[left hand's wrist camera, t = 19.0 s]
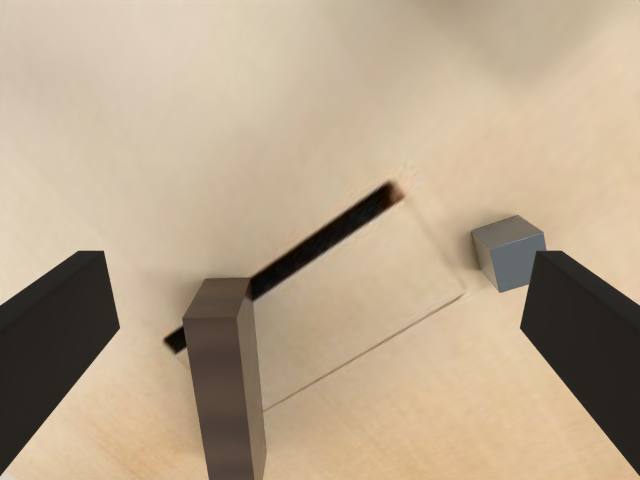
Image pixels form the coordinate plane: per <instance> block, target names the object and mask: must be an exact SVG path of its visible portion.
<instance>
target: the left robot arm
mask: <svg viewBox="0 0 640 480" xmlns="http://www.w3.org/2000/svg"><path fill="white" fill-rule="evenodd" d="M119 329H120V325H119V321H118V316H117V311H116V307H115V302H114V297H113V292H112V288H111V283H110V278H109V273H108V269H107V264H106V259H105V254H104V251H77V252H76V253H75V254H73V255H72V256H70V257H69V258H67V259H66V260H65V261H63V262H62V263H60V264H59V265H57V266H56V267H55V268H53V269H52V270H50V271H49V272H48V273H46V274H45V275H43V276H42V277H40V278H39V279H38V280H36V281H35V282H33V283H32V284H30V285H29V286H28V287H26V288H25V289H23V290H22V291H20V292H19V293H18V294H16V295H15V296H13V297H12V298H10V299H9V300H8V301H6V302H5V303H3V304H2V305H0V476H1V474H2V473H3V472H4V471H5V470H6V468H7V467H8V466H9V465H10V463H11V462H12V461H13V460H14V459H15V457H16V456H17V455H18V454H19V452H20V451H21V450H22V449H23V447H24V446H25V445H26V444H27V442H28V441H29V440H30V439H31V438H32V436H33V435H34V434H35V433H36V431H37V430H38V429H39V428H40V426H41V425H42V424H43V423H44V421H45V420H46V419H47V418H48V417H49V415H50V414H51V413H52V412H53V410H54V409H55V408H56V407H57V405H58V404H59V403H60V402H61V400H62V399H63V398H64V397H65V396H66V394H67V393H68V392H69V391H70V389H71V388H72V387H73V386H74V384H75V383H76V382H77V381H78V379H79V378H80V377H81V376H82V375H83V373H84V372H85V371H86V370H87V368H88V367H89V366H90V365H91V363H92V362H93V361H94V360H95V359H96V357H97V356H98V355H99V354H100V352H101V351H102V350H103V349H104V347H105V346H106V345H107V344H108V342H109V341H110V340H111V339H112V338H113V336H114V335H115V334H116V333H117V331H118V330H119ZM520 329H521V330H522V331H523V333H524V334H525V335H526V336H527V338H528V339H529V340H530V341H531V342H532V344H533V345H534V346H535V347H536V349H537V350H538V351H539V352H540V354H541V355H542V356H543V357H544V359H545V360H546V361H547V362H548V363H549V365H550V366H551V367H552V368H553V370H554V371H555V372H556V373H557V375H558V376H559V377H560V378H561V380H562V381H563V382H564V383H565V384H566V386H567V387H568V388H569V389H570V391H571V392H572V393H573V394H574V396H575V397H576V398H577V399H578V400H579V402H580V403H581V404H582V405H583V407H584V408H585V409H586V410H587V412H588V413H589V414H590V415H591V417H592V418H593V419H594V420H595V421H596V423H597V424H598V425H599V426H600V428H601V429H602V430H603V431H604V433H605V434H606V435H607V436H608V438H609V439H610V440H611V441H612V442H613V444H614V445H615V446H616V447H617V449H618V450H619V451H620V452H621V454H622V455H623V456H624V457H625V459H626V460H627V461H628V462H629V463H630V465H631V466H632V467H633V468H634V470H635V471H636V472H637V473H638V475H639V476H640V305H638V304H637V303H635V302H634V301H632V300H631V299H630V298H628V297H627V296H625V295H624V294H622V293H621V292H620V291H618V290H617V289H615V288H614V287H612V286H611V285H610V284H608V283H607V282H605V281H604V280H602V279H601V278H600V277H598V276H597V275H595V274H594V273H592V272H591V271H590V270H588V269H587V268H585V267H584V266H583V265H581V264H580V263H578V262H577V261H575V260H574V259H573V258H571V257H570V256H568V255H567V254H565V253H564V252H563V251H536V254H535V259H534V264H533V269H532V273H531V278H530V283H529V288H528V292H527V297H526V302H525V307H524V311H523V316H522V321H521V325H520Z"/></svg>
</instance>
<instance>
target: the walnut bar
mask: <svg viewBox="0 0 640 480" xmlns="http://www.w3.org/2000/svg"><path fill="white" fill-rule="evenodd" d="M182 319H183V326H184V332H185V338H186V344H187V350H188V356H189V362H190V368H191V374H192V380H193V386H194V392H195V398H196V404H197V410H198V416H199V422H200V428H201V434H202V440H203V446H204V452H205V458H206V464H207V470H208V476H209V480H263V474H264V467H265V460H266V443H265V432H264V421H263V410H262V399H261V388H260V377H259V366H258V355H257V344H256V333H255V322H254V311H253V300H252V289H251V279H250V278H230V279H205V280H204V282H203V284H202V286H201V287H200V289H199V291H198V292H197V294H196V296H195V297H194V299H193V301H192V303H191V304H190V306H189V308H188V309H187V311H186V313H185V315H184V316H183V318H182Z"/></svg>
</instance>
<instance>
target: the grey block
mask: <svg viewBox="0 0 640 480" xmlns="http://www.w3.org/2000/svg"><path fill="white" fill-rule="evenodd" d="M471 232H472V236H473V240H474V244H475V248H476V253H477V257H478V261H479V265H480V269H481V271H482V273H483V274H484V275H485V276H486V277H487V278H488V280H489V281H490V282H491V283H492V284H493V286H494V287H495V288H496V289H497V290H498V291H499V293H502V292H505V291H508V290H511V289H515V288H518V287H521V286H525V285H528V284H529V283H530V278H531V273H532V269H533V264H534V259H535V254H536V251H546V245H545V239H544V233H543V231H541V230H540V229H538V228H537V227H535V226H534V225H532V224H531V223H529V222H528V221H526V220H525V219H523V218H522V217H520V216H515V217H512V218H509V219H506V220H503V221H500V222H497V223H494V224H491V225H487V226H484V227H481V228H478V229H475V230H472V231H471Z"/></svg>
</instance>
